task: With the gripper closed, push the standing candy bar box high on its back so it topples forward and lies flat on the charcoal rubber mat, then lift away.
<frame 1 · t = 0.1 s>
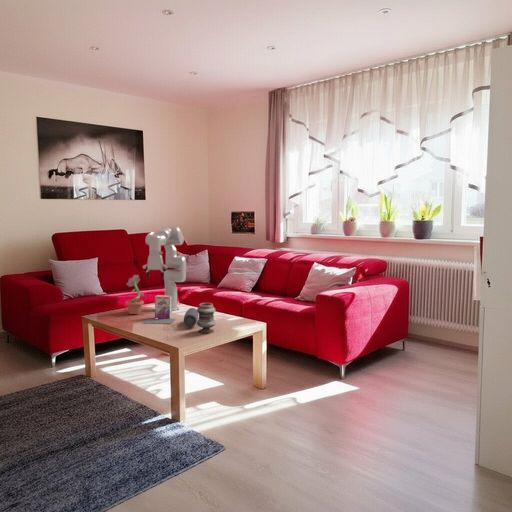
hand: (155, 278, 313), 31 cm above the table, tool pointing down, fingers open, 9 cm apart
bluetooth speaker: (191, 325, 310), on the table
candy bar box: (163, 318, 329), on the table
mat: (159, 321, 319), on the table
decorative flower: (135, 314, 343), on the table
apothecary jar: (206, 331, 292), on the table
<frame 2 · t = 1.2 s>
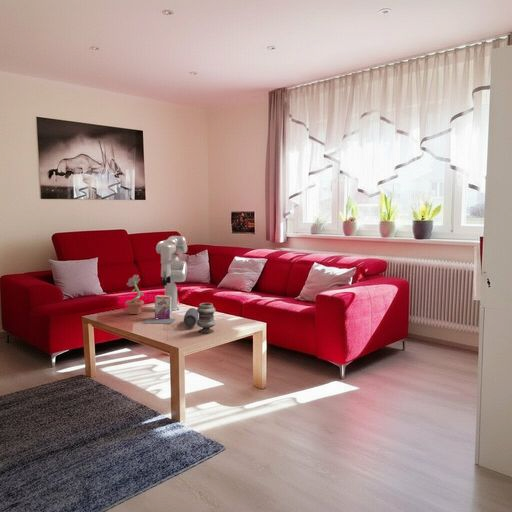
hand: (166, 284, 337), 23 cm above the table, tool pointing down, fingers open, 9 cm apart
nothing on the table moved.
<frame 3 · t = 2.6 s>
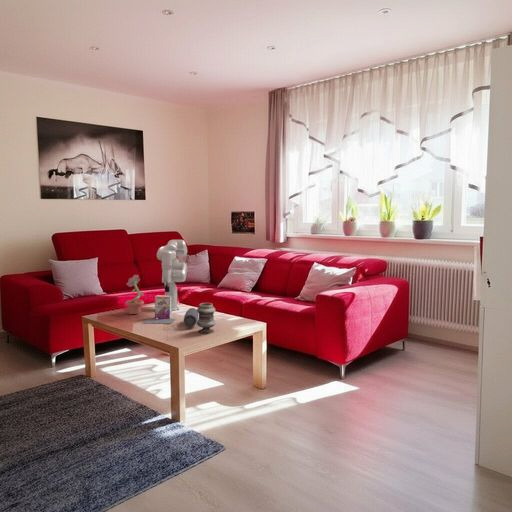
hand: (167, 291, 339), 17 cm above the table, tool pointing down, fingers closed
nothing on the table moved.
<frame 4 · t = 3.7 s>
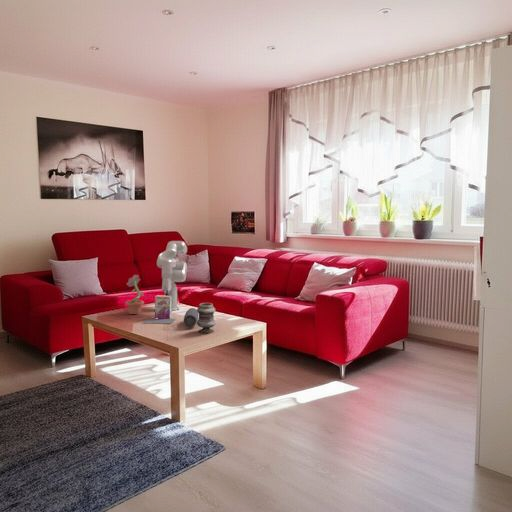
hand: (167, 300, 339), 11 cm above the table, tool pointing down, fingers closed
nothing on the table moved.
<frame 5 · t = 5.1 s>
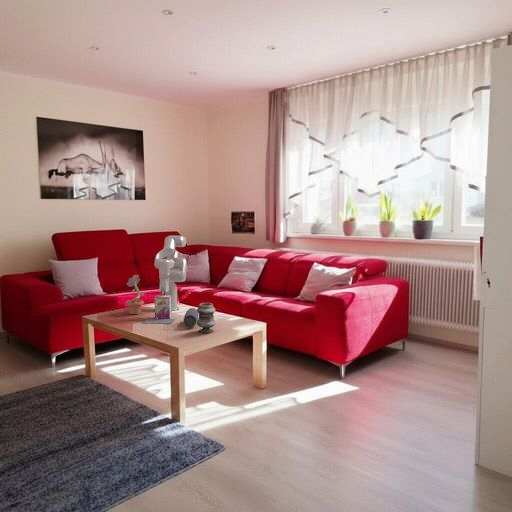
hand: (164, 301, 332), 11 cm above the table, tool pointing down, fingers closed
candy bar box: (163, 318, 329), on the table, touching gripper
everything else where it was.
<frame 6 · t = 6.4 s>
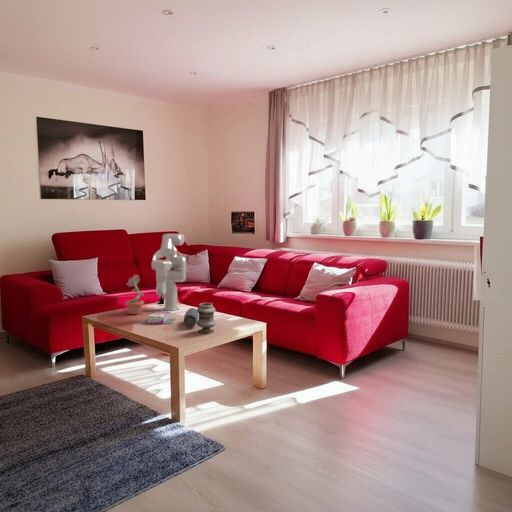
hand: (161, 304, 323), 11 cm above the table, tool pointing down, fingers closed
candy bar box: (162, 315, 326), point 3 cm above the table, touching mat
everything else where it was.
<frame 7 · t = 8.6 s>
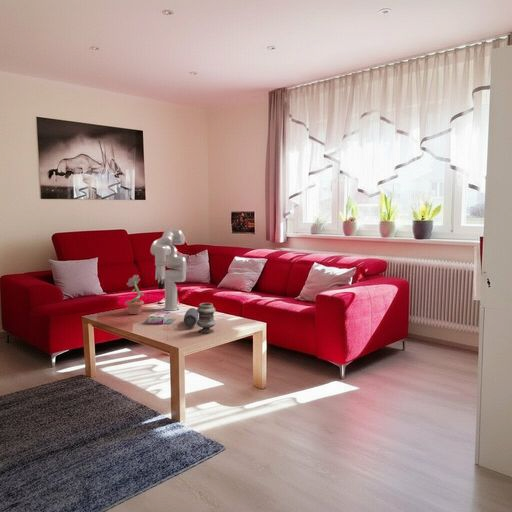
hand: (161, 289, 321), 22 cm above the table, tool pointing down, fingers closed
nothing on the table moved.
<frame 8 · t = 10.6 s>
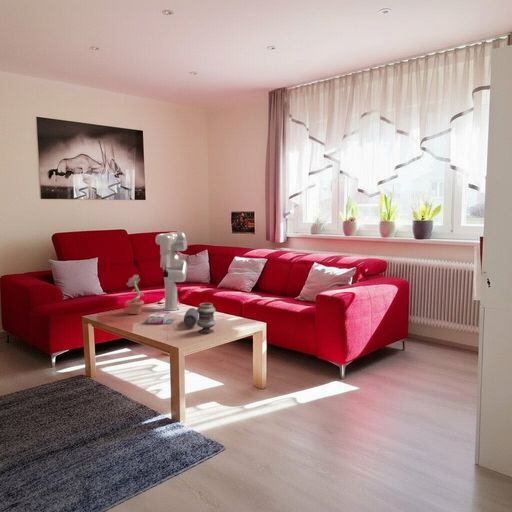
hand: (165, 277, 334), 29 cm above the table, tool pointing down, fingers closed
nothing on the table moved.
at the end: candy bar box tilted 89°; candy bar box touching mat; candy bar box inside the target area (7.0 cm from its centre), point 2.8 cm above the table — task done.
